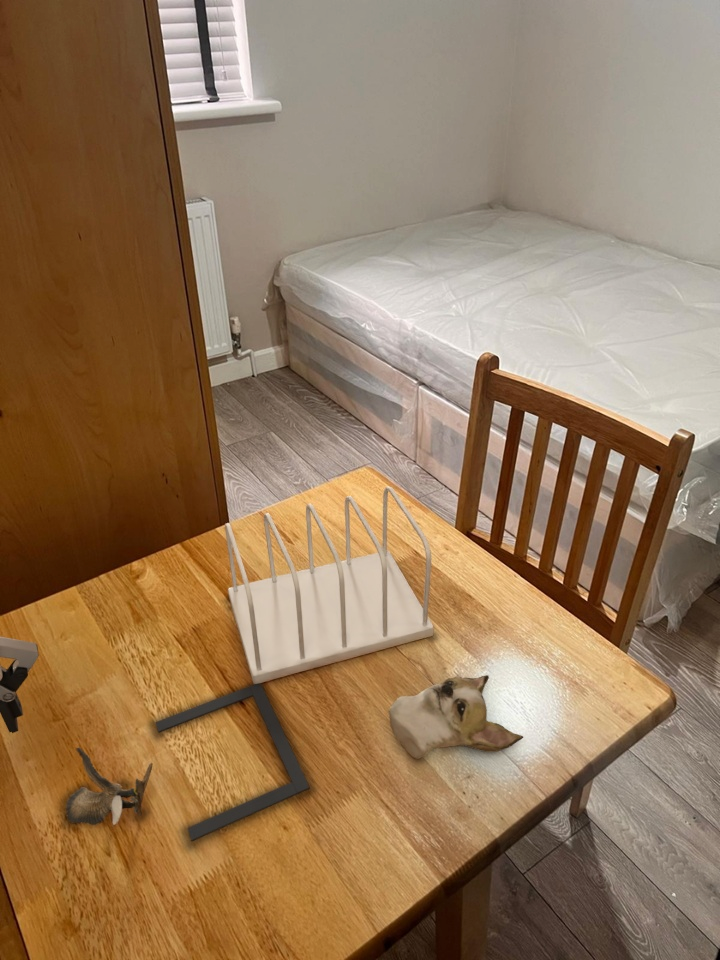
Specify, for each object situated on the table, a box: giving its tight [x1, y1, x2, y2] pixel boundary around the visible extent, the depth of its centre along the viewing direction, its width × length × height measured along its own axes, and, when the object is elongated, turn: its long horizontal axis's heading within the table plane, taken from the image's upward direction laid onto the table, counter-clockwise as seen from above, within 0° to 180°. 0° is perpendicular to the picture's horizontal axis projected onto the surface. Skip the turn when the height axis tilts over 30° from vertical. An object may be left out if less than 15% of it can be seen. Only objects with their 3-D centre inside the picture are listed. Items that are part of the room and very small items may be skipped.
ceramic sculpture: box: [388, 674, 524, 760], centre depth 85 cm, size 11×9×15 cm
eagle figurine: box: [65, 747, 153, 826], centre depth 79 cm, size 8×7×9 cm
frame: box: [155, 683, 310, 842], centre depth 85 cm, size 14×16×1 cm
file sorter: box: [224, 486, 434, 685], centre depth 99 cm, size 25×17×16 cm
